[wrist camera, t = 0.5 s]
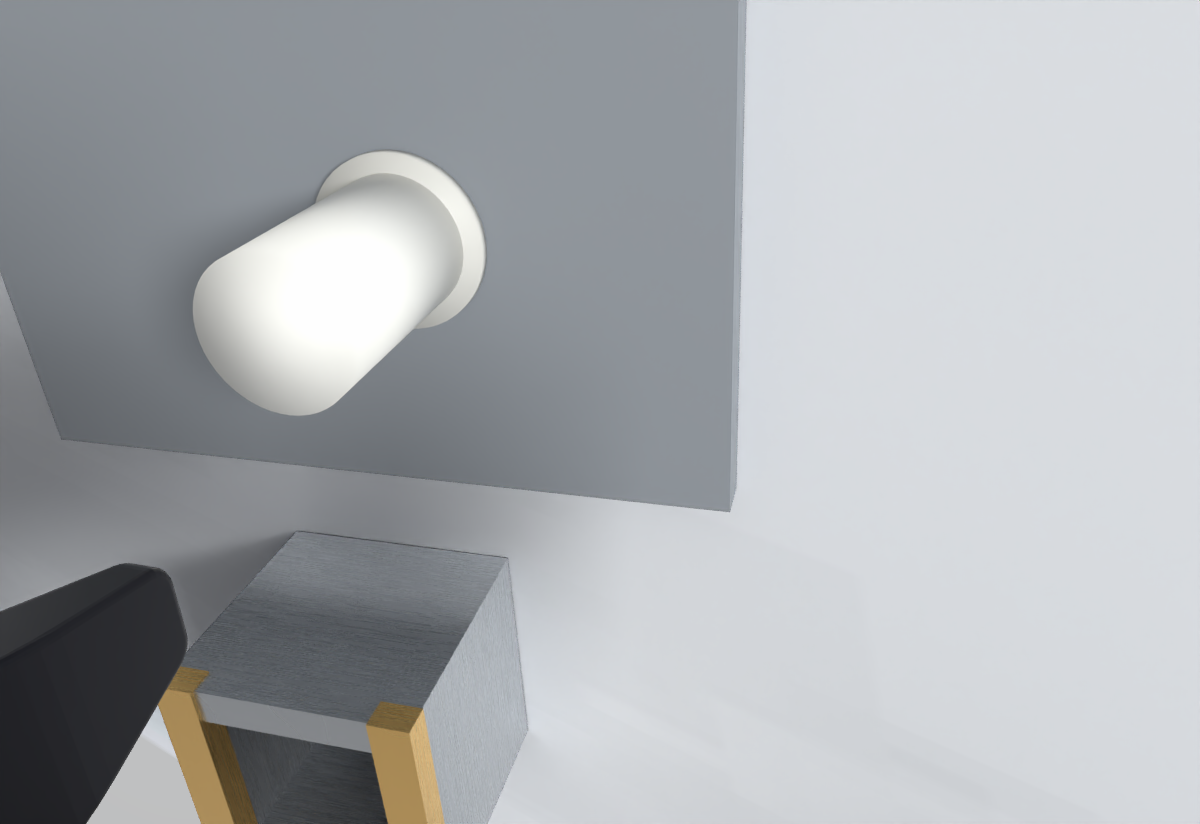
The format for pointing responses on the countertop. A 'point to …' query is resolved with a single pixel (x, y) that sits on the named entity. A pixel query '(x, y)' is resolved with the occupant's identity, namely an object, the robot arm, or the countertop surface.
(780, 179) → the countertop surface
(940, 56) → the countertop surface
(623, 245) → the panel
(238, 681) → the open cube shelf
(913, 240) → the countertop surface
